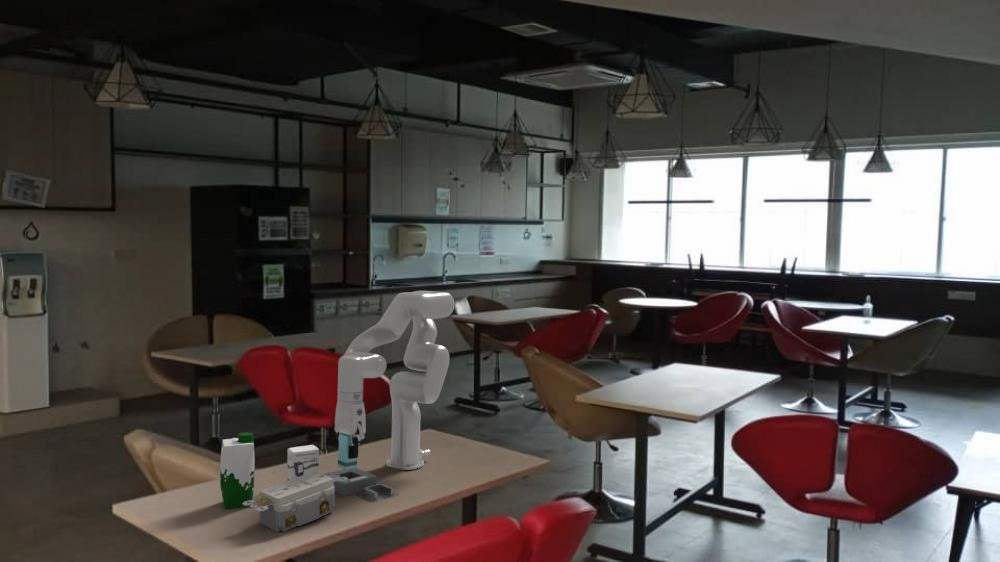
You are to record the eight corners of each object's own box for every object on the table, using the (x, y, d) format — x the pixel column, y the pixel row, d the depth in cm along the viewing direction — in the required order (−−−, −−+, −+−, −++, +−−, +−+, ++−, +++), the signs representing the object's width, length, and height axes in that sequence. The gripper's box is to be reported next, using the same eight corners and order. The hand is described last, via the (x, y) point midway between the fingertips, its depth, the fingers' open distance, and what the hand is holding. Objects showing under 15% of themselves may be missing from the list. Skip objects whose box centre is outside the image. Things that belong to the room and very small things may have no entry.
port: (353, 479, 240) (353, 465, 239) (376, 488, 231) (376, 474, 231) (320, 487, 231) (320, 473, 231) (343, 497, 223) (343, 482, 222)
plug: (348, 464, 233) (350, 432, 233) (356, 467, 230) (358, 434, 230) (337, 466, 230) (339, 434, 230) (345, 469, 227) (347, 436, 227)
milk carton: (255, 507, 213) (256, 437, 212) (221, 510, 210) (221, 439, 209) (252, 496, 221) (253, 429, 220) (219, 500, 218) (219, 431, 217)
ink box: (291, 490, 228) (292, 452, 227) (286, 485, 232) (287, 447, 231) (319, 486, 233) (319, 448, 232) (313, 481, 237) (314, 444, 236)
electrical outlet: (354, 508, 213) (352, 474, 212) (264, 545, 191) (263, 507, 190) (328, 498, 220) (326, 465, 219) (239, 532, 199) (237, 495, 197)
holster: (383, 489, 231) (383, 481, 231) (399, 496, 225) (400, 488, 225) (356, 497, 224) (356, 488, 223) (372, 504, 218) (372, 495, 218)
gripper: (377, 399, 227) (375, 460, 227) (344, 390, 238) (342, 448, 239) (356, 402, 221) (354, 464, 222) (323, 393, 233) (322, 452, 233)
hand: (348, 455), depth 230 cm, fingers closed on plug, 4 cm apart
